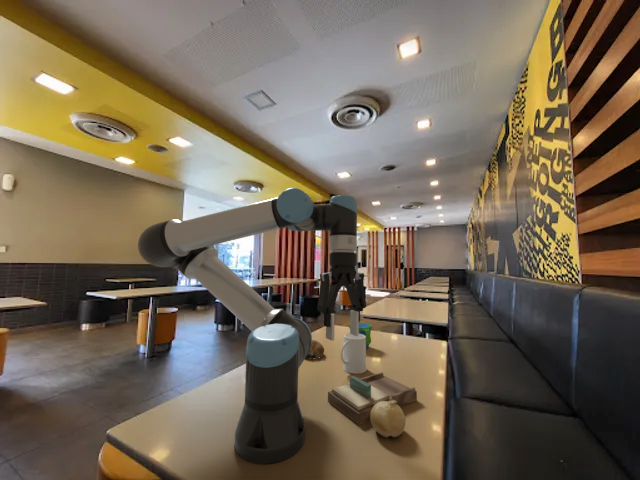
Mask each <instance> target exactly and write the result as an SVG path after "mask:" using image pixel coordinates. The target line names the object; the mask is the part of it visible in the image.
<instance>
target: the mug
mask: <svg viewBox="0 0 640 480" xmlns="http://www.w3.org/2000/svg"><path fill="white" fill-rule="evenodd" d="M366 349H367V348H366V336H365V335H362V334H359V336H354V335H352V334H350V332H349V333H345V334H344V335H343V345H342V347H341V349H340V360H341V361H342V363H343V367H342V369H343V371H344V372H346V373H348V374H354V375H355V374H356V375H359V374H364V373H365V372H367V363H366V362H367V355H366V354H367V350H366Z"/></svg>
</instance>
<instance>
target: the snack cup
mask: <svg viewBox="0 0 640 480" xmlns="http://www.w3.org/2000/svg"><path fill="white" fill-rule="evenodd" d="M348 328H349V329H350V324H349V325H348ZM372 329H373V326H372V324H370V323H367V322H366V323H365V322H359V334H362V335H365V336H366V349H368V348H370V347H369V346H370V344H371V343H372V338H371V331H372Z"/></svg>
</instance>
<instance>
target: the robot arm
mask: <svg viewBox="0 0 640 480" xmlns="http://www.w3.org/2000/svg"><path fill="white" fill-rule="evenodd" d="M285 228H288V230H290V231H294V232H303V231H304V232H309V231H310V232H312V231H313V232H315V231H320V232H321V231H324V232H326V231H329V247H328V248H329V250H330V253H329V262H328V263H329V266H330V267H329V268H330V269H329V271H328V272H321V273H320V274H319V278H320V286H319V294H318V300H317V307H316V308H317V310H316V311H318V312H320V313H323V325H324V327H325V338H326V339H327V340H329V341H335V313H333V310H334V308H335V304H336V301H337V298H338V295H339V293H340V290H341V289H342V287H344V288H345V289H346V293H347V295H348V298H349V301H350V305H351V310H350V311H349V316H350V317H349V322H350V323H349V325H350V328H349V333H350V334H352V335H354V336H359V323H361V312H363V311H364V309H366V308H367V303H366V292H365V284H364V283H365V282H364V281H365V274H364V272H357V270H356V267H357V265H358V264H357V263H358V257H357V256H358V254H357V252H356V251H357V250H358V249H357V248H358V245H357V244H358V242H357V241H358V240H357V239H358V234H357V233H358V231H357V230H358V206H357V200H356V198H355V197H354V196H353V195H352V196H351V195H348V194H339V195H333V196H331V197H330V199H329V203H324V204H321V203H320V204H319V203H318V204H316V203H314V202H313V200H312V197H310V195H309V194H308V193H306V192H305V191H304V190H303V189H300V188H297V187H290V188H286V189H285V190H283V191H282V192H281V193H280V194H279V195H278V196H277V197H274V198H270V199H267V200H262V201H259V202H258V201H257V202H254V203H249V204H247V205H246V204H245V205H243V206H242V205H241V206H238V207H234V208H231V209H227V210H223V211H219V212H218V211H217V212H215V213H211V214H207V215H203V216H198V217H194V218H191V219H186V220H183V221H181V220H179V219H170V220H165V221H161V222H159V223H155V224H152V225H150V226H149V227H147V228H146V229H144V230H143V232H142V233H141V234H140V236H139V238H138V242H137V248H138V253H139V254H140V256H141V258H142V259H143V260H144V261H145V262H146V263H148V264H149V265H151V266H154V267H158V268H175V269H177V270H178V271H179V273H180V274H182V275H183V276H184V277H185V278H186V279H189V280H190V279H191V280H192V279H196V281H198V282H199V284H201V285H202V286H203V287H204V288H205V289H206V290H207V291H208V292H209V293H210V294H211V295H212V296H213V297H214V298H215V299H217V300H218V301H219V302H220V303H221V304H222V305H223V306H224V307H225V308H226V309H228V311H229V312H231V313H232V314H233V315H234V316H235V318H237V319H238V320H239V321H240V322H241V323H242V324H244V325H243V326H246V328H247V329H249V331H251V332H250V333H249V335H248V337H247V341H246V348H245V383H244V405H243V408H242V409H241V410H242V411H241V412H240V413H241V414H240V416H239V420H238V422H237V425H236V429H235V432H234V448H235V451H236V453H237V455H239V457H241V458H242V459H244V460H246V461H248V462H251V463H255V464H273V463H274V464H275V463H278V462H281V461H284V460H287V459H289V458H290V457H293V455H295V454H297V452H299V451H300V450H301V448H302V446H303V445H304V442H305V437H306V429H305V427H306V426H305V422H304V418H303V414H302V410H301V408H300V404H299V401H298V397H299V395H298V393H299V391H298V390H299V369H300V368H301V366H302V364H303V362H304V360H305V359H307V358H306V356H307V355H308V354H309V351H310V348H311V344H312V340H313V336H312V330H311V329H310V327H309V326H308V324H307V323H306V322H305V321H304V320H302V319H300V318H297V317H292V316H291V315H290V314H289V313H288V312H287V311H285V310H284V308H275V307H274V306H272V305H271V304H270V303H269V302H268V301H267V300H266V299H264V298H263V297H262V296H261V295H260V294H259V293H257V291H256V290H254V289H253V287H251V286H250V285H249V284H248V283H246V282H245V281H244V280H243V278H241V277H240V276H239V275H238V274H237V273H236V272H235V271H233V270H232V269H231V267H229V266H228V265H227V264H226V263H224V262H223V261H222V260H221V258H219V251H218V249H217V248H215V245H219V244H224V243H228V242H230V241H235V240H239V239H243V238H247V237H251V236H255V235H259V234H260V235H261V234H263V233H264V234H265V233H268V232H272V231H276V230H279V229H285ZM330 280H331V281H330Z"/></svg>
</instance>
